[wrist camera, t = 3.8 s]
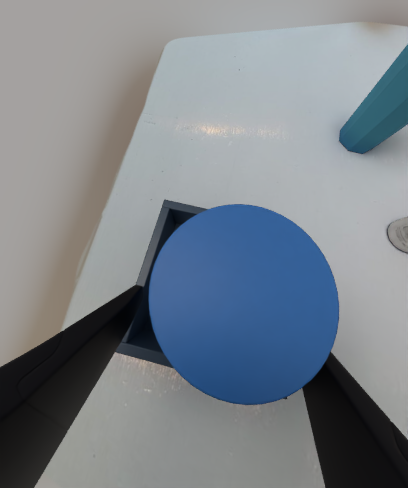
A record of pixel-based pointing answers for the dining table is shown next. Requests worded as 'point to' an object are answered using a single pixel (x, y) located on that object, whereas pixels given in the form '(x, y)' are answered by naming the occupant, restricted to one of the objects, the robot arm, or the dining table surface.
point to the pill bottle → (399, 233)
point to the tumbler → (243, 304)
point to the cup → (380, 110)
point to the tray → (141, 331)
